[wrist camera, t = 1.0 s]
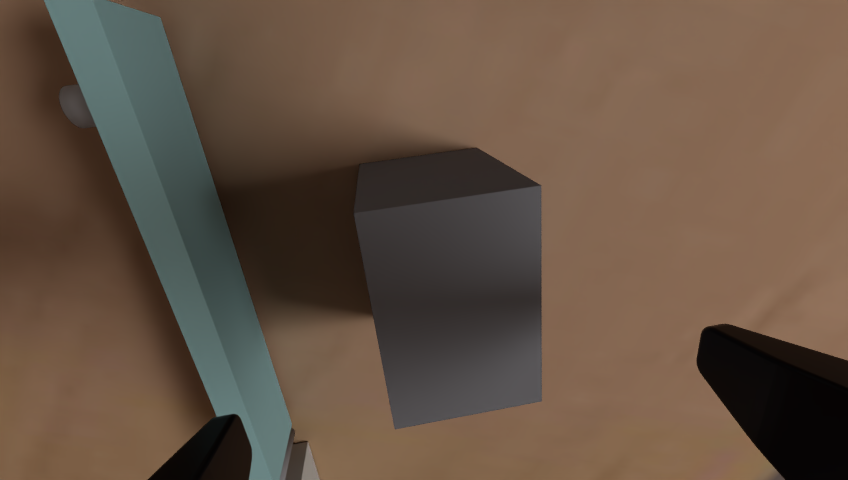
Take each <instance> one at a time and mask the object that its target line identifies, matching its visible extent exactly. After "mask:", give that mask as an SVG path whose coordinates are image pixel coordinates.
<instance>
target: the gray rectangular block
mask: <svg viewBox="0 0 848 480" xmlns="http://www.w3.org/2000/svg"><path fill="white" fill-rule="evenodd" d="M354 218H355V223H356V229H357V234H358V239H359V244H360V249H361V255H362V260H363V265H364V270H365V276H366V281H367V286H368V291H369V297H370V302H371V307H372V312H373V318H374V323H375V328H376V333H377V339H378V344H379V349H380V354H381V360H382V365H383V370H384V375H385V381H386V386H387V391H388V396H389V402H390V407H391V412H392V417H393V423H394V428H395V429H399V428H405V427H410V426H415V425H420V424H425V423H431V422H436V421H441V420H446V419H452V418H457V417H462V416H467V415H473V414H478V413H483V412H488V411H493V410H499V409H504V408H509V407H514V406H520V405H525V404H530V403H535V402H541V401H542V352H541V185H539V184H538V183H536V182H534V181H533V180H531V179H529V178H528V177H526V176H524V175H522V174H521V173H519V172H517V171H516V170H514V169H512V168H511V167H509V166H507V165H505V164H504V163H502V162H500V161H499V160H497V159H495V158H494V157H492V156H490V155H488V154H487V153H485V152H483V151H482V150H480V149H478V148H472V149H465V150H457V151H450V152H443V153H436V154H428V155H421V156H414V157H407V158H400V159H392V160H385V161H378V162H371V163H363V164H359V172H358V181H357V189H356V197H355V206H354Z"/></svg>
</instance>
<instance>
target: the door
mask: <svg viewBox="0 0 848 480" xmlns="http://www.w3.org/2000/svg"><path fill="white" fill-rule="evenodd" d="M44 2H45V4H46V7H47V9H48V11H49V14H50V16H51V19H52V21H53V23H54V26H55V28H56V31H57V33H58V35H59V38H60V40H61V43H62V45H63V47H64V50H65V52H66V55H67V57H68V60H69V62H70V64H71V67H72V69H73V72H74V74H75V76H76V79H77V81H78V84H76V85H68V86H64V87H62V88H61V90H60V92H59V101H60V105H61V107H62V110H63V112H64V113H65V115H66V116H67V118H68V119H69V120H70V121H71V122H72V123H73V124H74V125H76V126H78V127H80V128H91V127H97V129H98V132H99V134H100V137H101V139H102V141H103V144H104V146H105V149H106V151H107V153H108V156H109V158H110V161H111V163H112V165H113V168H114V170H115V173H116V175H117V177H118V180H119V182H120V185H121V187H122V189H123V192H124V194H125V197H126V199H127V201H128V204H129V206H130V209H131V211H132V214H133V216H134V218H135V221H136V223H137V226H138V228H139V230H140V233H141V235H142V238H143V240H144V242H145V245H146V247H147V250H148V252H149V254H150V257H151V259H152V262H153V264H154V266H155V269H156V271H157V274H158V276H159V278H160V281H161V283H162V286H163V288H164V291H165V293H166V295H167V298H168V300H169V303H170V305H171V307H172V310H173V312H174V315H175V317H176V319H177V322H178V324H179V327H180V329H181V331H182V334H183V336H184V339H185V341H186V343H187V346H188V348H189V351H190V353H191V355H192V358H193V360H194V363H195V365H196V368H197V370H198V372H199V375H200V377H201V380H202V382H203V384H204V387H205V389H206V392H207V394H208V396H209V399H210V401H211V404H212V406H213V408H214V411H215V413H216V416H217V417H218V416H223V415H229V414H237V415H238V416H239V417H240V418H241V420H242V423H243V425H244V428H245V431H246V433H247V436H248V439H249V441H250V444H251V447H252V463H251V470H250V476H249V480H280V475H281V471H282V466H283V462H284V457H285V453H286V448H287V444H288V440H289V435H290V431H291V426H292V423H291V420H290V417H289V414H288V411H287V408H286V405H285V401H284V398H283V395H282V392H281V389H280V386H279V383H278V380H277V377H276V374H275V371H274V367H273V364H272V361H271V358H270V355H269V352H268V349H267V346H266V343H265V340H264V336H263V333H262V330H261V327H260V324H259V321H258V318H257V315H256V312H255V309H254V306H253V302H252V299H251V296H250V293H249V290H248V287H247V284H246V281H245V278H244V275H243V272H242V268H241V265H240V262H239V259H238V256H237V253H236V250H235V247H234V244H233V241H232V237H231V234H230V231H229V228H228V225H227V222H226V219H225V216H224V213H223V210H222V207H221V203H220V200H219V197H218V194H217V191H216V188H215V185H214V182H213V179H212V176H211V172H210V169H209V166H208V163H207V160H206V157H205V154H204V151H203V148H202V145H201V142H200V138H199V135H198V132H197V129H196V126H195V123H194V120H193V117H192V114H191V111H190V107H189V104H188V101H187V98H186V95H185V92H184V89H183V86H182V83H181V80H180V77H179V73H178V70H177V67H176V64H175V61H174V58H173V55H172V52H171V49H170V46H169V43H168V39H167V36H166V33H165V30H164V27H163V24H162V21H161V18H160V17H158V16H155V15H152V14H148V13H145V12H142V11H139V10H136V9H133V8H129V7H126V6H123V5H120V4H117V3H114V2H111V1H107V0H44Z"/></svg>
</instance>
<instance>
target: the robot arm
mask: <svg viewBox="0 0 848 480" xmlns="http://www.w3.org/2000/svg"><path fill="white" fill-rule="evenodd" d="M697 366H698V369H699V371H700V373H701V374H702V376H703V377H704V379H705V380H706V381H707V383H708V384H709V385H710V386H711V388H712V389H713V390H714V392H715V393H716V394H717V396H718V397H719V398H720V400H721V401H722V402H723V404H724V405H725V406H726V408H727V409H728V410H729V412H730V413H731V414H732V416H733V417H734V418H735V420H736V421H737V422H738V424H739V425H740V426H741V428H742V429H743V430H744V432H745V433H746V434H747V436H748V437H749V438H750V439H751V441H752V442H753V443H754V445H755V446H756V447H757V448H758V449H759V450H760V452H761V453H762V454H763V455H764V456H765V457H766V459H767V460H768V461H769V462H770V463H771V464H772V465H773V467H774V468H775V469H776V470H777V471H778V472H779V473H780V474H781V476H782V477H783V478H784V479H785V480H848V361H847V360H844V359H841V358H838V357H834V356H831V355H828V354H824V353H821V352H818V351H815V350H811V349H808V348H805V347H802V346H798V345H795V344H792V343H789V342H785V341H782V340H779V339H775V338H772V337H769V336H766V335H762V334H759V333H756V332H753V331H749V330H746V329H743V328H740V327H736V326H733V325H729V324H719V325H714V326H708V327H706V328H704V329H703V331H702V333H701V337H700V343H699V348H698V354H697ZM251 463H252V447H251V444H250V441H249V439H248V436H247V433H246V431H245V428H244V425H243V423H242V420H241V418H240V417H239V416H238V415H237V414H229V415H223V416H218V417H215V418H212V419H211V420H210V421H209V422H208V423H207V424H205V425H204V426H203V427H202V428H201V429H200V430H199V431H198V432H197V433H196V434H195V435H194V436H193V437H192V438H191V439H190V440H189V441H188V442H187V443H186V444H184V445H183V446H182V447H181V448H180V449H179V450H178V451H177V452H176V453H175V454H174V455H173V456H172V457H171V458H170V459H169V460H168V461H167V462H166V463H165V464H164V465H162V466H161V467H160V468H159V469H158V470H157V471H156V472H155V473H154V474H153V475H152V476H151V477H150V478H149V479H148V480H249V476H250V470H251Z"/></svg>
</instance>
